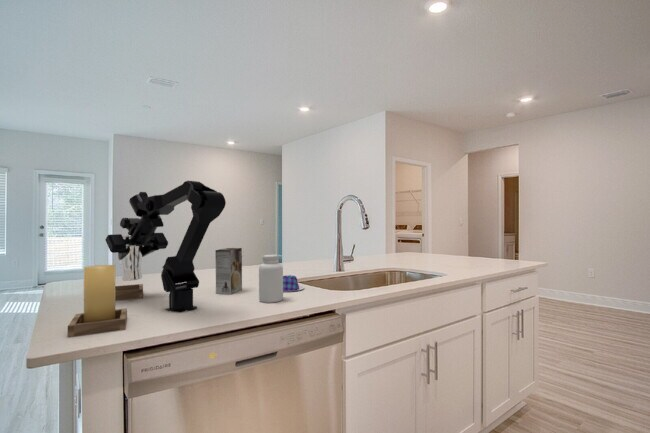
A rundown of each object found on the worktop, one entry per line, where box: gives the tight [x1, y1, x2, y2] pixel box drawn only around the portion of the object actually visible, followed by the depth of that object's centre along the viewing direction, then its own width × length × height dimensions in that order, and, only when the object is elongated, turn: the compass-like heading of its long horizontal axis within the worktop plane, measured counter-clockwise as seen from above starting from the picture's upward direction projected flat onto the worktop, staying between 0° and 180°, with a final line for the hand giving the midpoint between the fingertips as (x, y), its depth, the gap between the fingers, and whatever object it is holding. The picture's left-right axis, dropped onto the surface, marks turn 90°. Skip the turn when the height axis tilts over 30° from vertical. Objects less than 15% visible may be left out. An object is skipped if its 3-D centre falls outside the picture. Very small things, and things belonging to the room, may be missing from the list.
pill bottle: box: [258, 254, 284, 304], centre depth 114 cm, size 8×8×15 cm
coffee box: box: [215, 247, 243, 295], centre depth 128 cm, size 9×6×16 cm
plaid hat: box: [283, 274, 305, 293], centre depth 132 cm, size 12×12×5 cm
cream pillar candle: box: [83, 264, 116, 323], centre depth 86 cm, size 7×7×15 cm
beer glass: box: [120, 235, 143, 282], centre depth 119 cm, size 7×7×15 cm
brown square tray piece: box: [67, 308, 128, 338], centre depth 86 cm, size 11×11×3 cm
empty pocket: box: [115, 283, 144, 301], centre depth 121 cm, size 11×11×3 cm
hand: (129, 258), depth 120 cm, fingers closed on beer glass, 6 cm apart
